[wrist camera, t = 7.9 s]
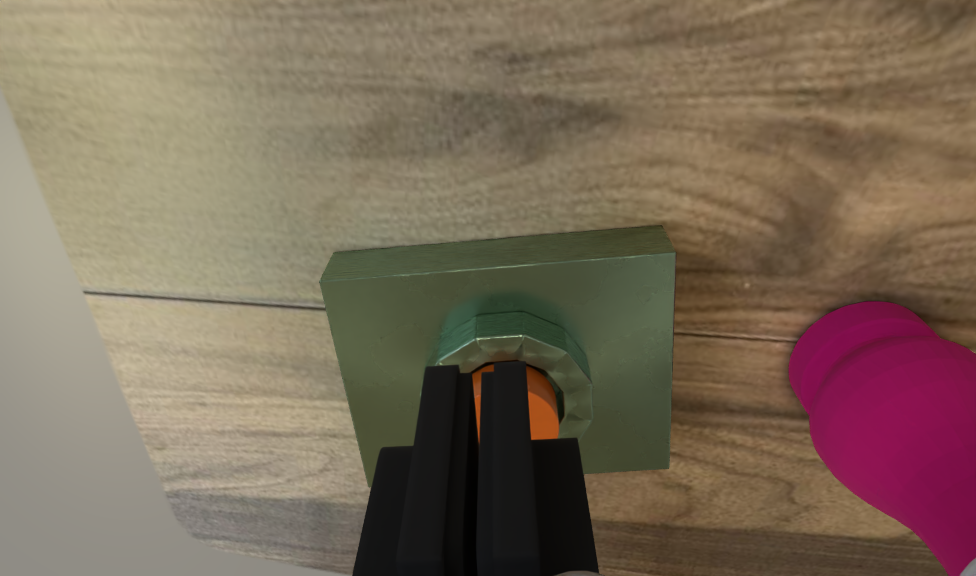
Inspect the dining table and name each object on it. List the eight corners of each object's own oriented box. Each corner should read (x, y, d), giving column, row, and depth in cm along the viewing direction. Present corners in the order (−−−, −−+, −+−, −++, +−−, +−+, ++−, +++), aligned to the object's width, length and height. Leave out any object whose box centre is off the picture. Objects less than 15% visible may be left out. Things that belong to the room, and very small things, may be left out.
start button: (464, 443, 29) (462, 472, 28) (452, 365, 28) (449, 392, 26) (558, 437, 29) (561, 466, 28) (553, 358, 27) (556, 384, 26)
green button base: (377, 449, 35) (361, 517, 31) (333, 252, 30) (307, 303, 26) (657, 430, 34) (678, 498, 30) (662, 224, 29) (688, 273, 25)
